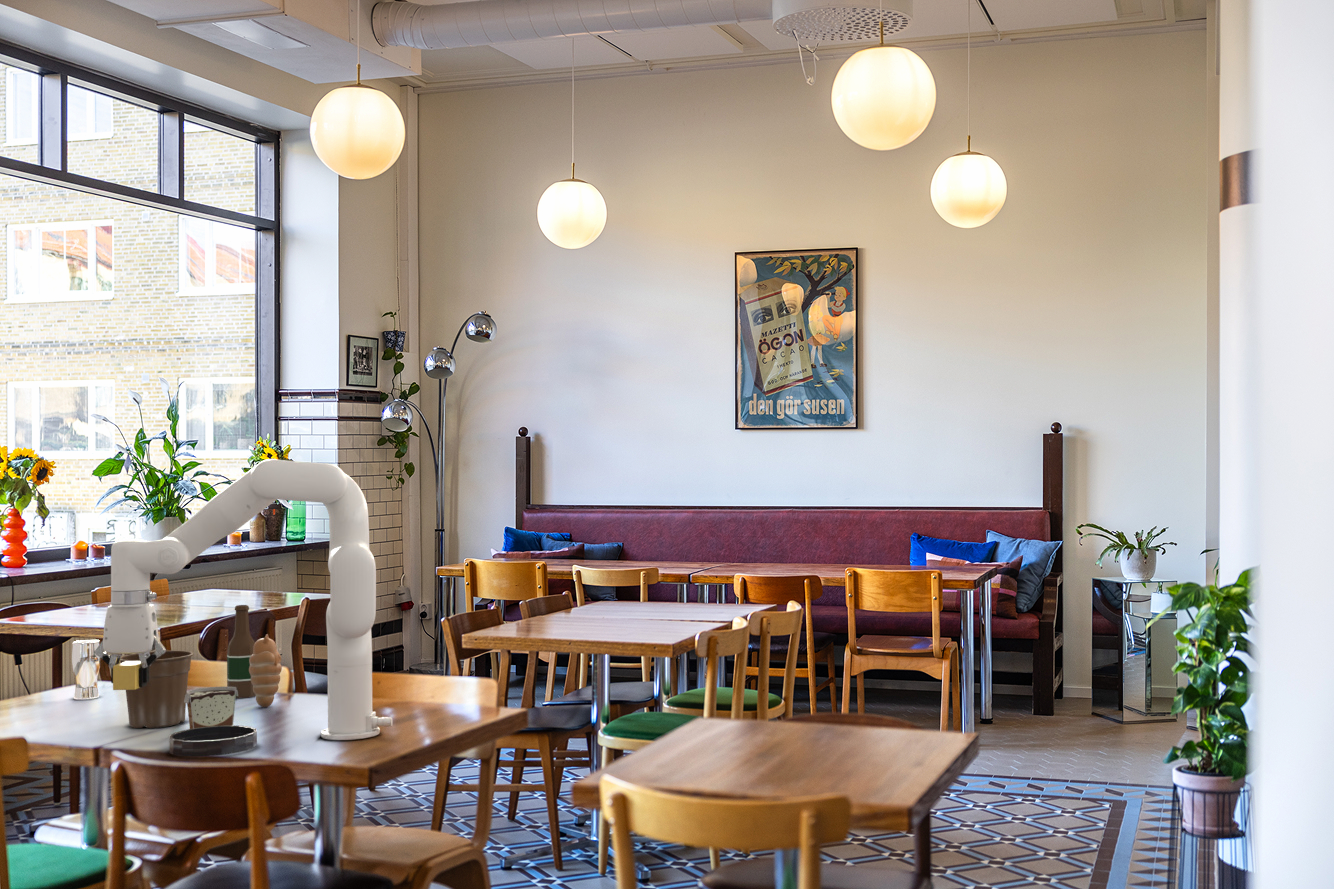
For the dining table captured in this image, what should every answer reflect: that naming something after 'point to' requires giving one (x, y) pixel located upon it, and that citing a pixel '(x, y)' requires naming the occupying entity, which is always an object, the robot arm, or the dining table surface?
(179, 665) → the plant pot
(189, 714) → the food container
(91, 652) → the beer glass
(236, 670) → the beer bottle
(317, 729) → the dining table surface
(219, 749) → the round cake pan
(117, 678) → the cheese
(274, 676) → the tan ribbed tapered piece
